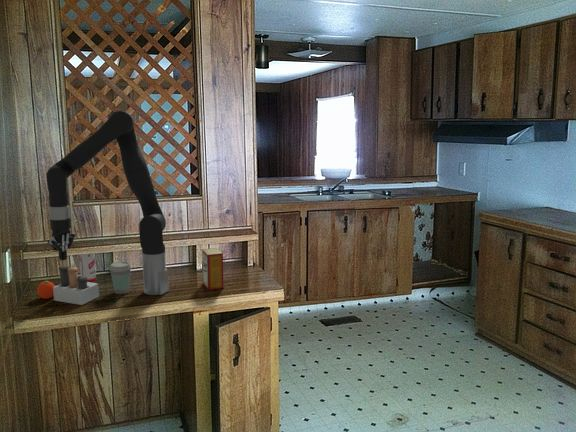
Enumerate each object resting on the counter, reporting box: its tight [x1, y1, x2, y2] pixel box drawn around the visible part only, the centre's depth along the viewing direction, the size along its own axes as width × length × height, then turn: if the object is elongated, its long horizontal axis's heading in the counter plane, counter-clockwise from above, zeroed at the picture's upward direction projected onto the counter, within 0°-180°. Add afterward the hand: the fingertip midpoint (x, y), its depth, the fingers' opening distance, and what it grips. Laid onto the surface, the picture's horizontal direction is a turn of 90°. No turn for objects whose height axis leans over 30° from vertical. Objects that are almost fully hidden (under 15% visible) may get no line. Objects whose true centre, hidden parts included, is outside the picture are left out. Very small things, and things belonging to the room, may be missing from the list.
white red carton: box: [78, 252, 97, 283], centre depth 228 cm, size 6×6×16 cm
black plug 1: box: [58, 265, 70, 287], centre depth 209 cm, size 4×4×8 cm
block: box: [53, 282, 100, 306], centre depth 210 cm, size 14×10×6 cm
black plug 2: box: [77, 276, 88, 290], centre depth 207 cm, size 4×4×8 cm
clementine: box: [36, 280, 56, 300], centre depth 210 cm, size 8×7×7 cm
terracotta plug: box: [68, 266, 79, 288], centre depth 208 cm, size 4×4×8 cm
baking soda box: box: [201, 247, 224, 291], centre depth 225 cm, size 10×6×16 cm
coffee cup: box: [109, 261, 132, 295], centre depth 217 cm, size 8×8×12 cm
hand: (63, 259), depth 208 cm, fingers closed
